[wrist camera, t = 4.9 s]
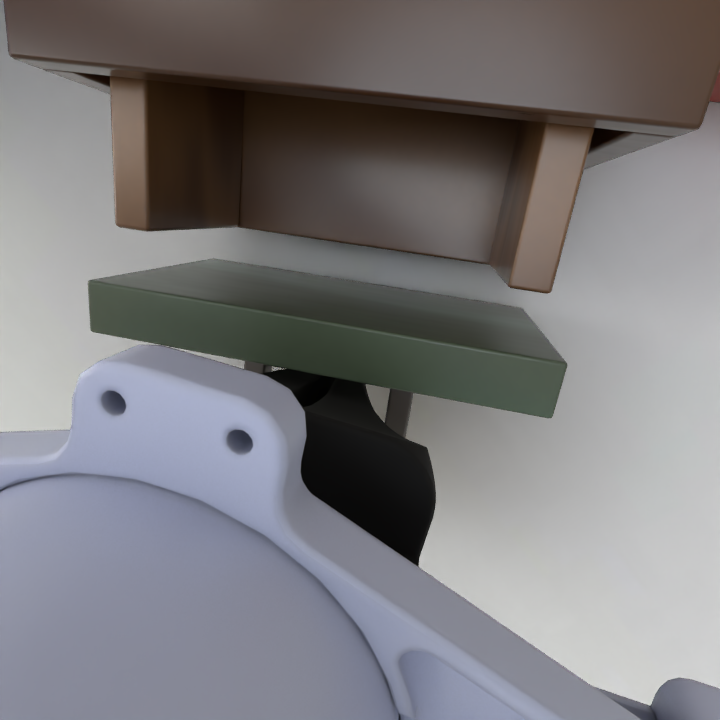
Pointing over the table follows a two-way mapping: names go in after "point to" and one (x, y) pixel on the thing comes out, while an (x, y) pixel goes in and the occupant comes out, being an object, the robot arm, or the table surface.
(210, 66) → the cabinet
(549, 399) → the drawer
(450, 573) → the table surface
